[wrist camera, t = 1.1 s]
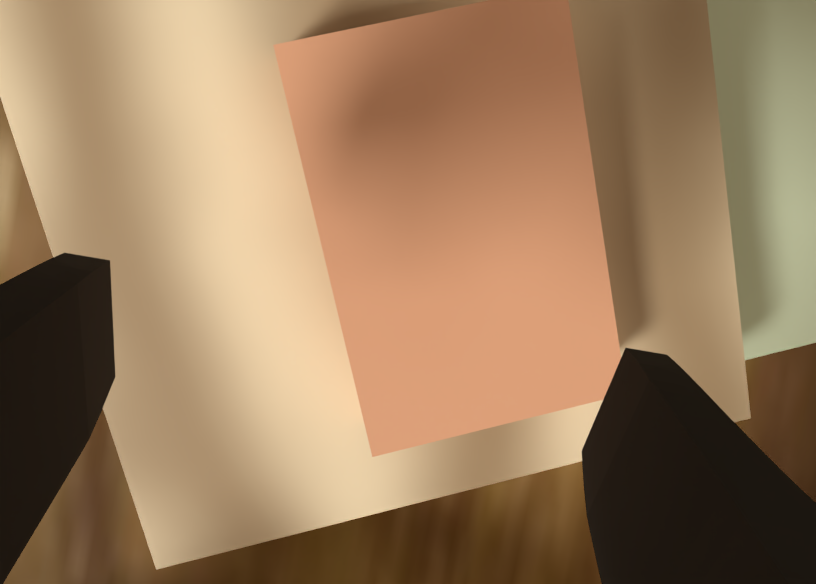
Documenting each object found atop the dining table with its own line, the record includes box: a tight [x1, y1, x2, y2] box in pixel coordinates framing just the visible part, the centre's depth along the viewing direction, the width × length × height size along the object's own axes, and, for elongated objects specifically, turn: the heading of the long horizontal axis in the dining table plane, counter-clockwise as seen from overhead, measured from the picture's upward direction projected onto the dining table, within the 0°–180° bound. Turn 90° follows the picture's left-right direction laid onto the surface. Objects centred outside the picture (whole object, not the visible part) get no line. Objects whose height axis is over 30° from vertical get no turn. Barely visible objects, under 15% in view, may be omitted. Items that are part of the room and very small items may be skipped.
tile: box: [273, 0, 621, 457], centre depth 17 cm, size 6×9×2 cm, turn 12°
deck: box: [0, 0, 751, 570], centre depth 20 cm, size 16×14×4 cm
